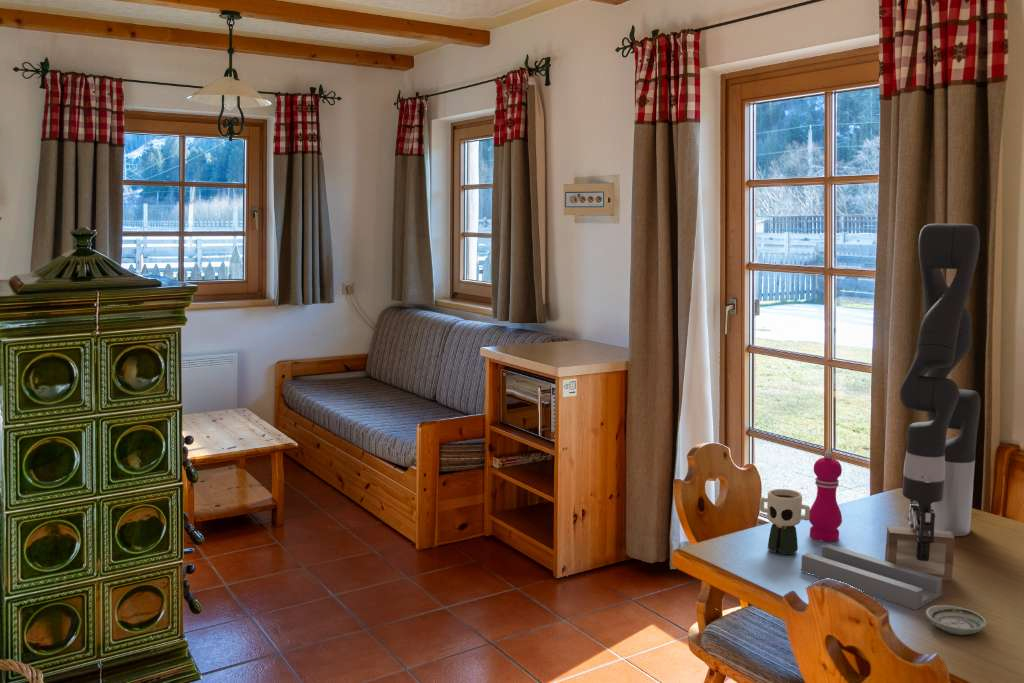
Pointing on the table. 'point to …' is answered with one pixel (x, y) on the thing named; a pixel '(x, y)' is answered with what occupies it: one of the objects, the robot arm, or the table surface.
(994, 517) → the table surface
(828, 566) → the picture ledge
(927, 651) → the table surface
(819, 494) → the pepper mill
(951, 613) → the saucer
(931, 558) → the wooden framed block
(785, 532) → the character mug
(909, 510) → the robot arm
